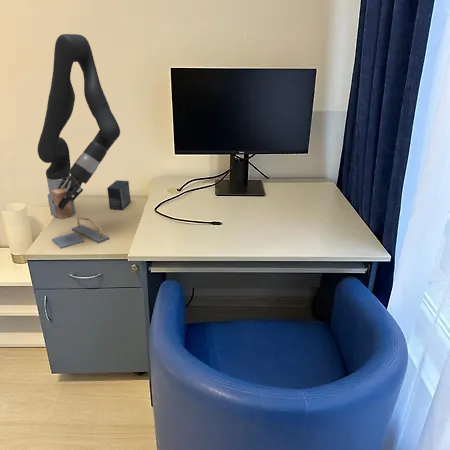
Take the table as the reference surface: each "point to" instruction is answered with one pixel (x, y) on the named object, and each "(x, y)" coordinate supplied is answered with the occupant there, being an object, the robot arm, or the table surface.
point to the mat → (68, 240)
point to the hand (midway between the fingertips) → (57, 205)
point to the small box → (119, 195)
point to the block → (57, 197)
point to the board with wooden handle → (90, 231)
